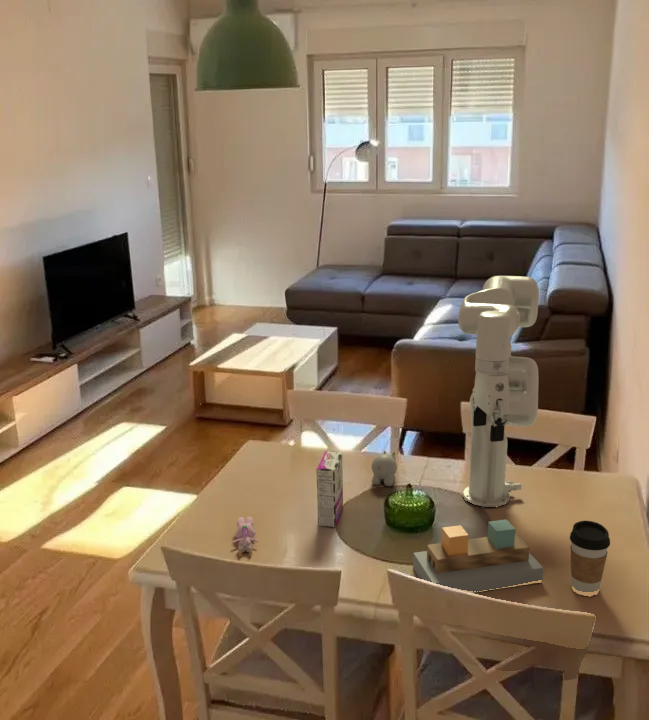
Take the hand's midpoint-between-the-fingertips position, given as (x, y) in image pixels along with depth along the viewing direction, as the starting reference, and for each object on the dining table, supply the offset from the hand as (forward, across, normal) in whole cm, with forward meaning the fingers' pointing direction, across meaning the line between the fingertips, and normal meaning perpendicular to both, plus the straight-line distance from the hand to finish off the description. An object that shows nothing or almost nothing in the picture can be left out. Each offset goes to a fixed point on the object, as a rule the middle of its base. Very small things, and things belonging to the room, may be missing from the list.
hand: (487, 433), depth 190 cm
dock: (+28, -15, +8) cm, 33 cm away
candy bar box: (+28, +20, +34) cm, 49 cm away
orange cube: (+21, -15, +14) cm, 29 cm away
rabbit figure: (+29, +13, +57) cm, 65 cm away
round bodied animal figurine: (+29, +38, +13) cm, 49 cm away
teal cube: (+21, -15, +2) cm, 26 cm away
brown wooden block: (+24, -15, +8) cm, 30 cm away
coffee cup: (+28, -26, -13) cm, 41 cm away
